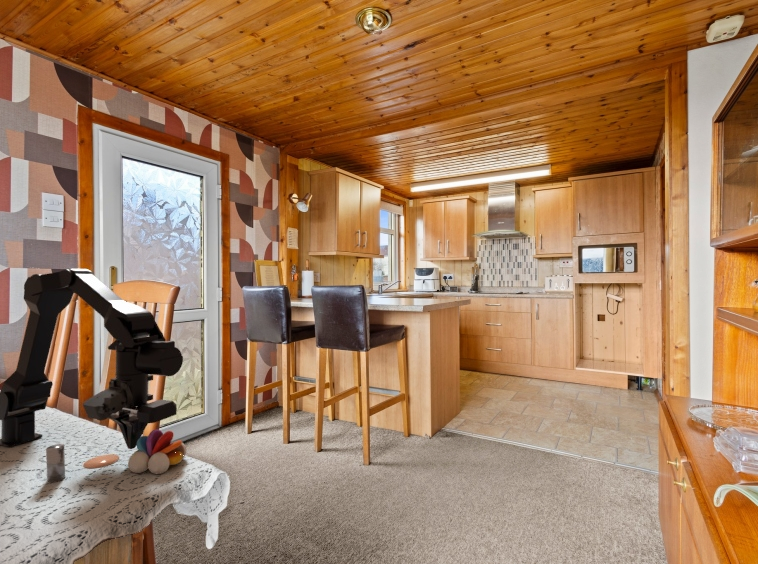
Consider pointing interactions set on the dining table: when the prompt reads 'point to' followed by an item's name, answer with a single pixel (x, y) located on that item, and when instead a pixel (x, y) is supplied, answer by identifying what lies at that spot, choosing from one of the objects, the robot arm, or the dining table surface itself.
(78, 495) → the dining table surface
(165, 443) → the rainbow petal ball
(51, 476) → the steel peg
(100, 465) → the marker disc
